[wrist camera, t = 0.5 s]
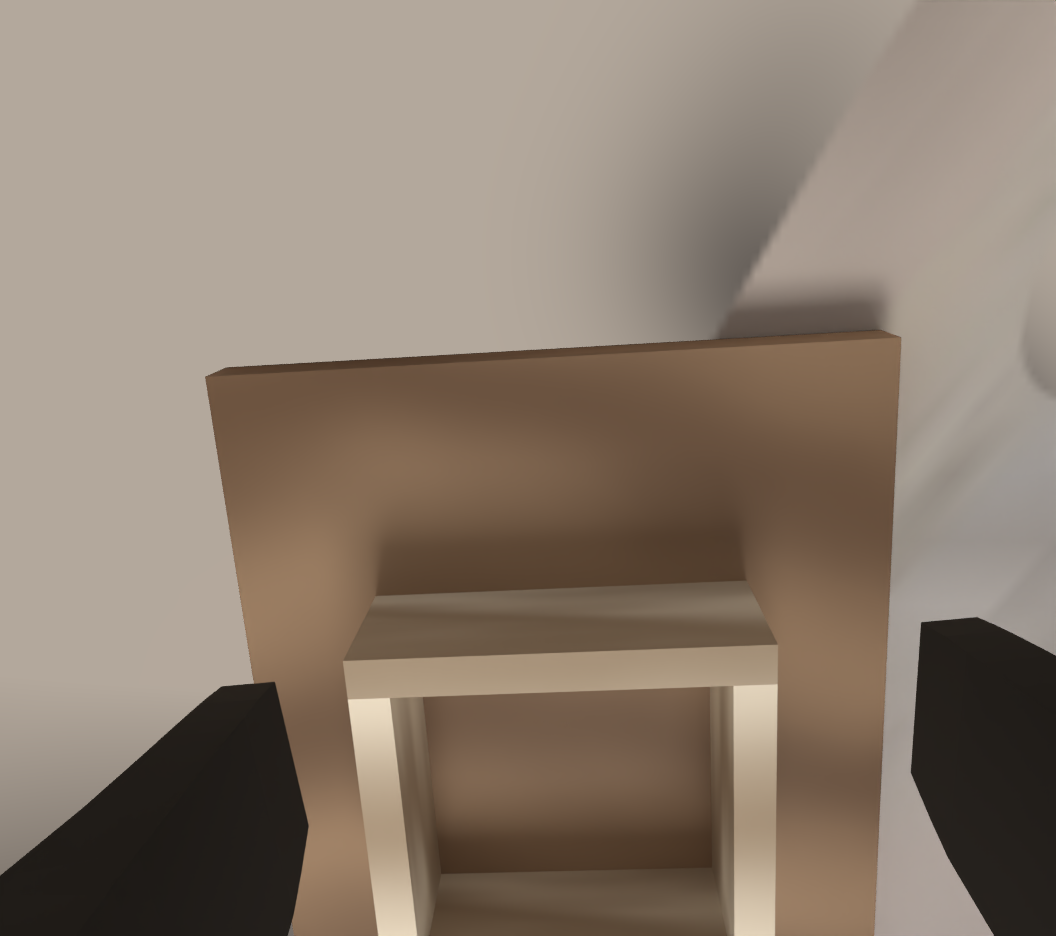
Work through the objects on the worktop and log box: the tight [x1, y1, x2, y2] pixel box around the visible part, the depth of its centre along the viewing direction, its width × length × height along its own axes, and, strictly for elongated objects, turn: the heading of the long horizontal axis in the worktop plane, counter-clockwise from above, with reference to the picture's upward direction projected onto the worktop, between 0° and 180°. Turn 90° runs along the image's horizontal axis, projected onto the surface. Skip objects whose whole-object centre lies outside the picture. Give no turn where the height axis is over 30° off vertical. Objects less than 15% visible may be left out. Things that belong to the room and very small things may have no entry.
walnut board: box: [205, 330, 901, 936], centre depth 20 cm, size 18×14×4 cm
